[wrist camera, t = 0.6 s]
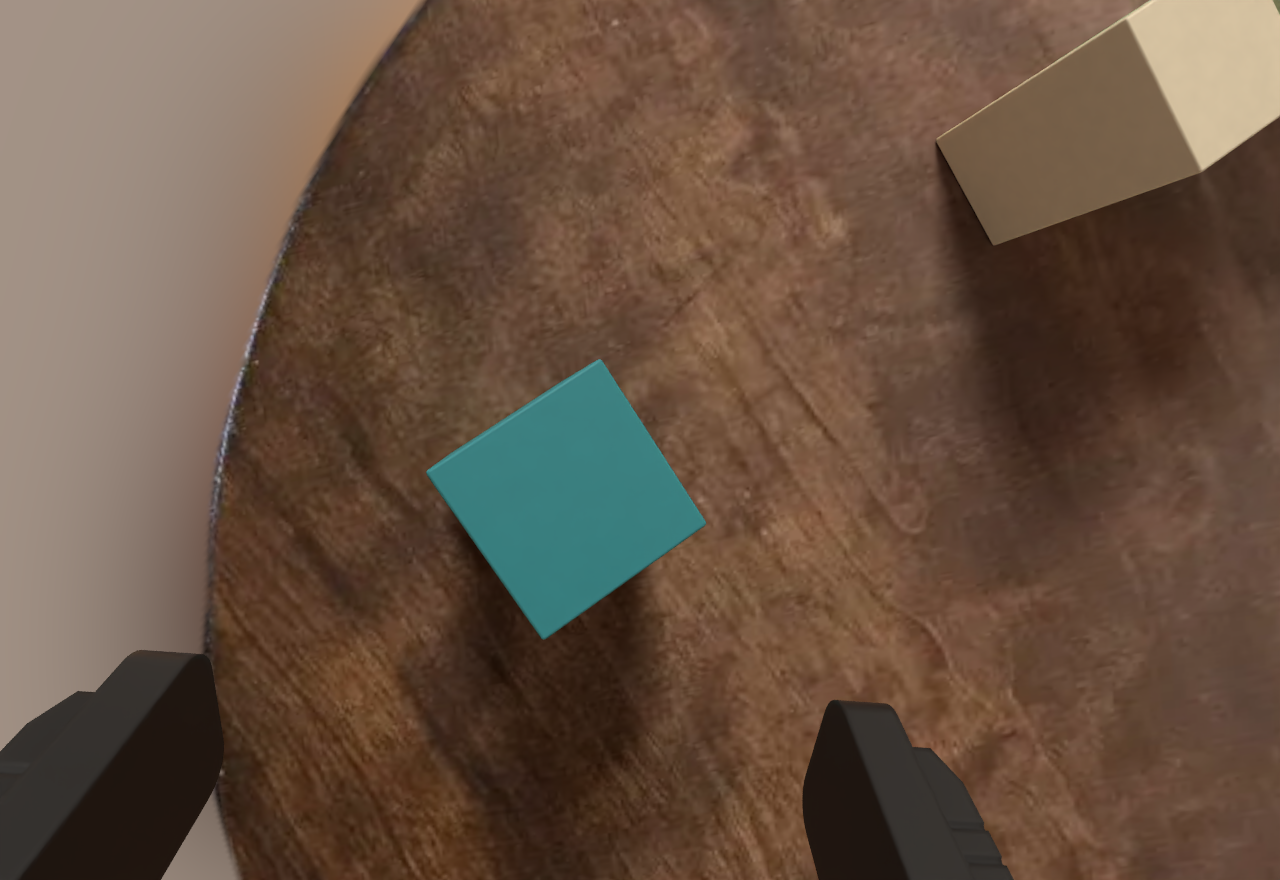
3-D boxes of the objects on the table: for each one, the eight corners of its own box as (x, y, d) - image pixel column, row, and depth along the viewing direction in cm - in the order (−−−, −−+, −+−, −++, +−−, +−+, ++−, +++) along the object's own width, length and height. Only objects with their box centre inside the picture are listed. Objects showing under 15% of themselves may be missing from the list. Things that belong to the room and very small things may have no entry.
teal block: (526, 568, 26) (543, 642, 17) (447, 455, 26) (424, 472, 17) (637, 491, 27) (708, 524, 18) (564, 379, 26) (600, 357, 18)
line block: (992, 246, 30) (1202, 172, 21) (934, 140, 29) (1125, 18, 20) (1079, 186, 31) (1316, 90, 22) (1024, 81, 30) (1246, -61, 21)
